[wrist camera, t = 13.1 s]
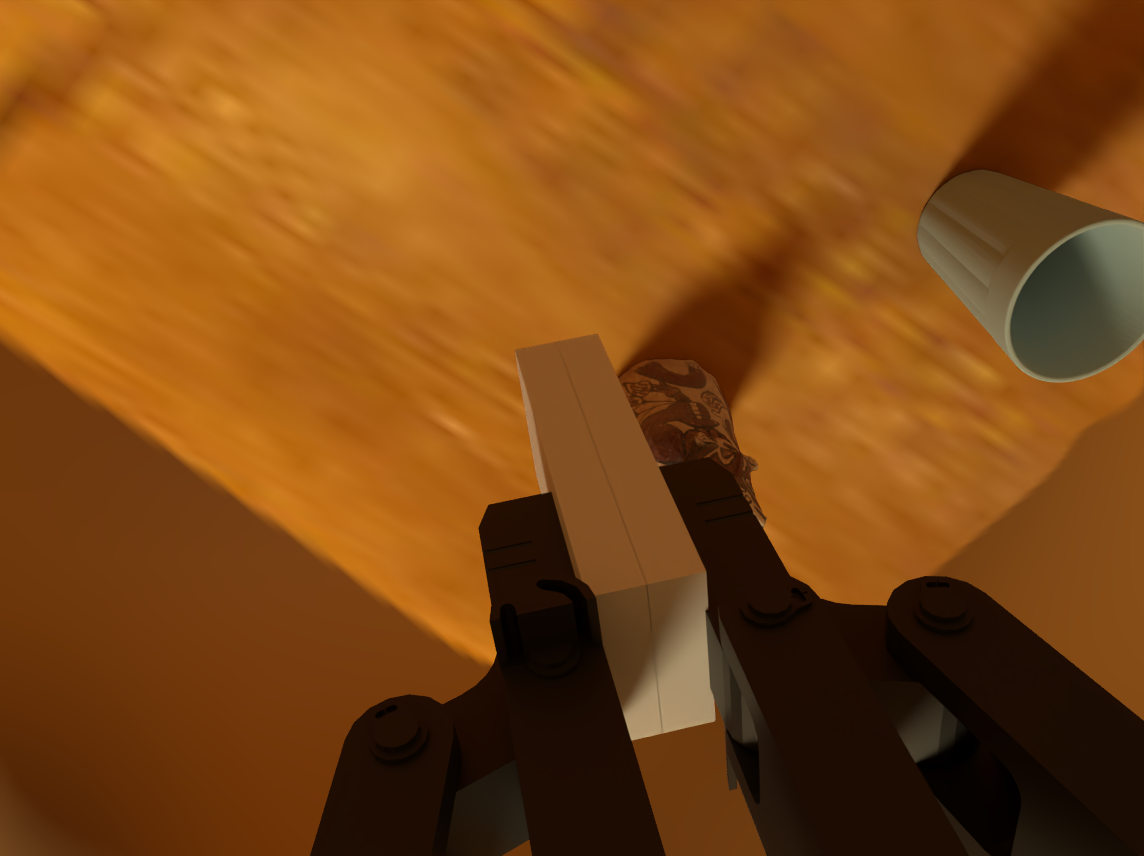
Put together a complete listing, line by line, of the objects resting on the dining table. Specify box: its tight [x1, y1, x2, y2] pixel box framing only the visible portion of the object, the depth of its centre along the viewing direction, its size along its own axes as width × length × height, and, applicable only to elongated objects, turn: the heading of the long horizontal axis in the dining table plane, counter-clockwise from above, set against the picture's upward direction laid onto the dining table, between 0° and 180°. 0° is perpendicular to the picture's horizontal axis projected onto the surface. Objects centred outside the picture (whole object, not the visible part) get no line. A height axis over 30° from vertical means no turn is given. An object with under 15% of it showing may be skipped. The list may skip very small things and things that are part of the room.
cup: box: [917, 170, 1144, 382], centre depth 47 cm, size 8×8×10 cm
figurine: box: [618, 359, 767, 528], centre depth 49 cm, size 7×7×12 cm
